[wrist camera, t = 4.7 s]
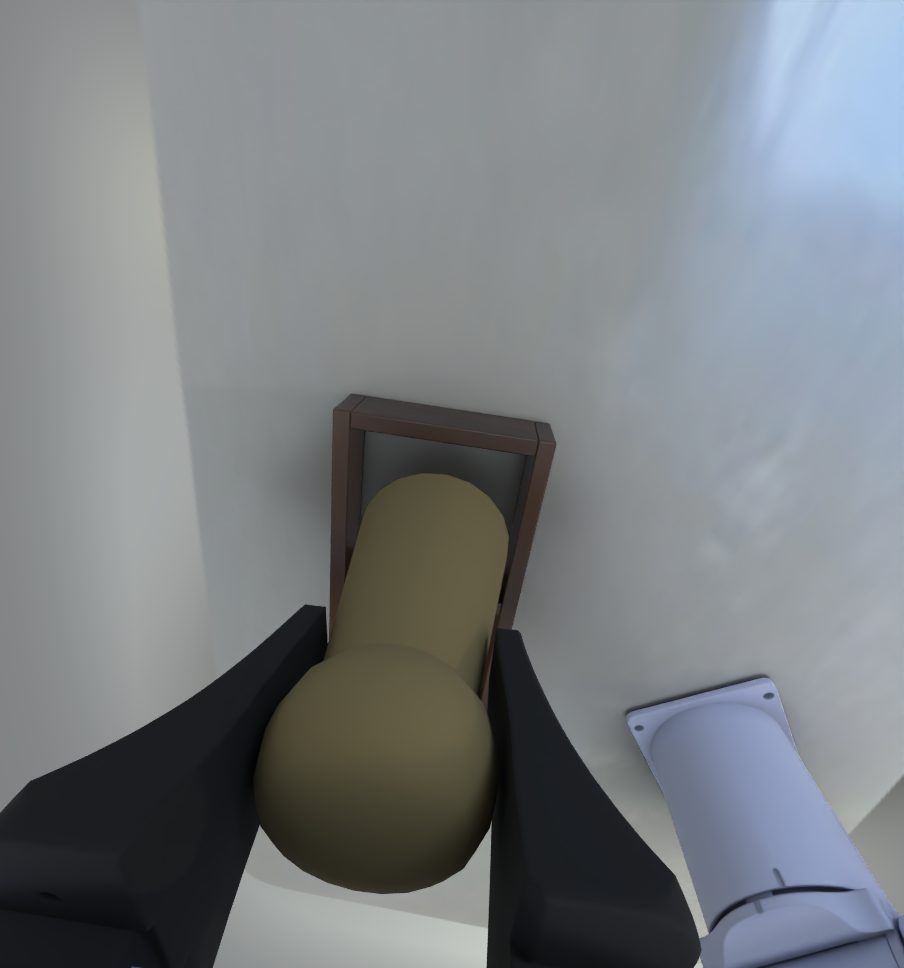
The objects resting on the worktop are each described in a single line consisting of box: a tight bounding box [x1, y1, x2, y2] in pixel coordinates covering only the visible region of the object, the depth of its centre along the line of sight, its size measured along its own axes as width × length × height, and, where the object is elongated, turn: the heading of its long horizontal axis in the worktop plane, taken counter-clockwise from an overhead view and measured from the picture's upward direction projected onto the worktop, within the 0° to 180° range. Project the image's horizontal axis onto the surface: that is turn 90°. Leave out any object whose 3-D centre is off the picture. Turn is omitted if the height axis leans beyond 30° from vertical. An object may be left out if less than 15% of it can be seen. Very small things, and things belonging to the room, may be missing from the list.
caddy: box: [329, 394, 556, 712], centre depth 22 cm, size 17×9×2 cm, turn 173°
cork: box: [253, 473, 509, 894], centre depth 13 cm, size 6×6×11 cm
